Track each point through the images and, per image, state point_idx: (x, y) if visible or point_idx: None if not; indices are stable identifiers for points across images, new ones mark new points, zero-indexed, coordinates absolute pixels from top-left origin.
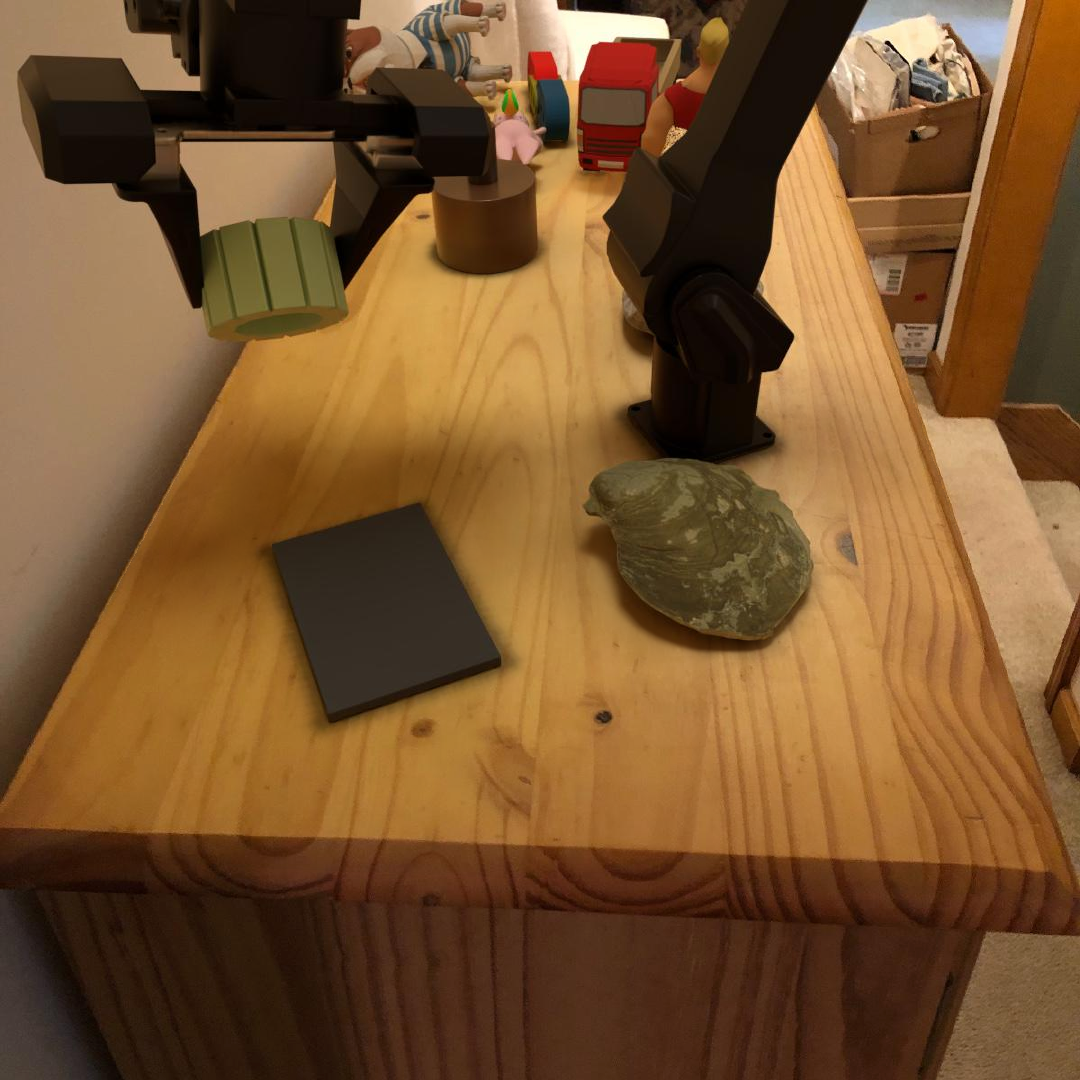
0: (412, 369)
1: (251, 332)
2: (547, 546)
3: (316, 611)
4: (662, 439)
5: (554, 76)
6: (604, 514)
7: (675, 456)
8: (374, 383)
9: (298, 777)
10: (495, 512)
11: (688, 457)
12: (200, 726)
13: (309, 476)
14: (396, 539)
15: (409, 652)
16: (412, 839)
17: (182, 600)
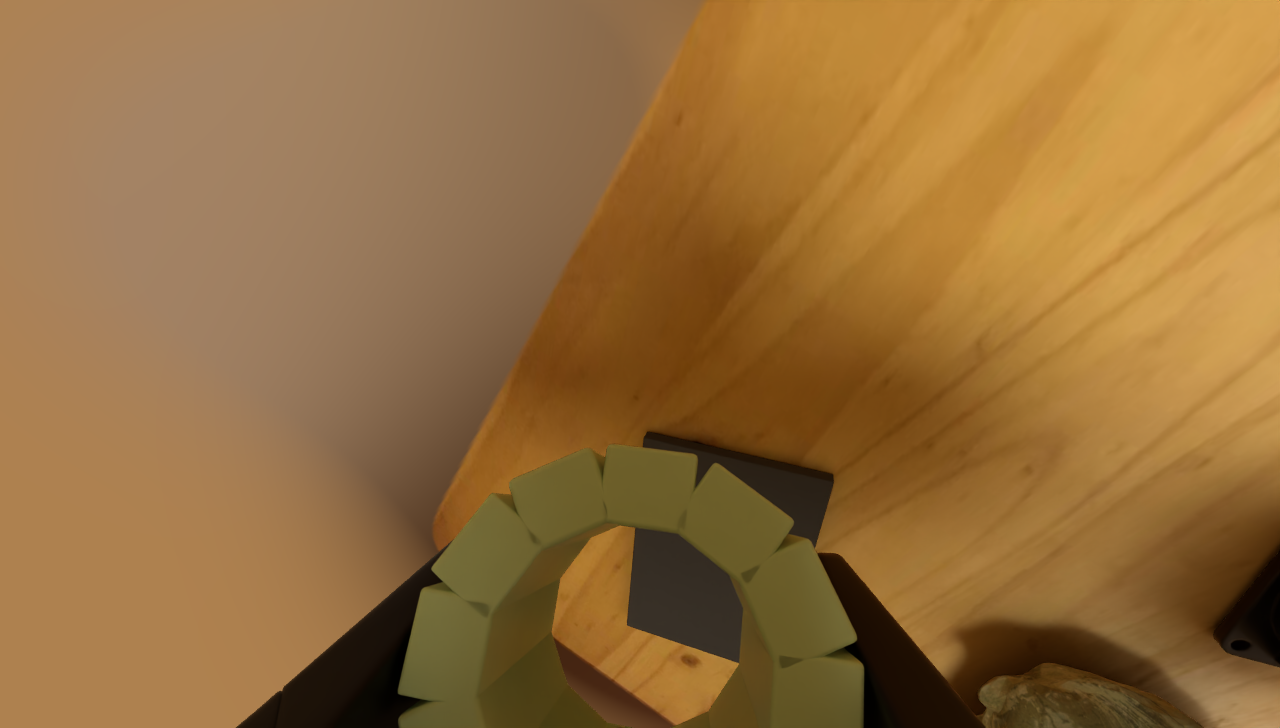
0: (1090, 108)
1: (609, 529)
2: (926, 604)
3: (653, 543)
4: (1276, 601)
5: None
6: (990, 716)
7: (1244, 635)
8: (976, 122)
9: (596, 632)
10: (914, 530)
11: (1259, 648)
12: None
13: (736, 328)
14: None
15: (709, 626)
16: (647, 704)
17: (550, 435)
